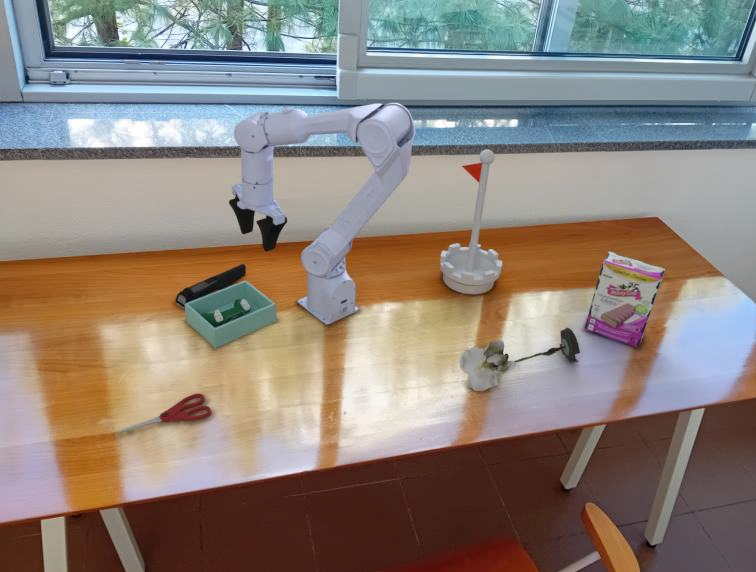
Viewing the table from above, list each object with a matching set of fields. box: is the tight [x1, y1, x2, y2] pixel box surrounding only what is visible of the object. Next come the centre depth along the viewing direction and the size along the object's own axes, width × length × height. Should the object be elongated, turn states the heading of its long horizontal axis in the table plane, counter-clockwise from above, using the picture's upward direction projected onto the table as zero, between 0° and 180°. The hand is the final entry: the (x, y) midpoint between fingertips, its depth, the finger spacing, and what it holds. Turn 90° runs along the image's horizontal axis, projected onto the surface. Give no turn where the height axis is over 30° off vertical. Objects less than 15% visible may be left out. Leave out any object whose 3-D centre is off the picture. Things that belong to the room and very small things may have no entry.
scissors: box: [115, 393, 212, 434], centre depth 114 cm, size 5×14×1 cm, turn 123°
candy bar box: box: [584, 251, 666, 349], centre depth 141 cm, size 11×5×16 cm, turn 65°
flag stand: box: [439, 148, 503, 295], centre depth 149 cm, size 13×13×30 cm
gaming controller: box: [200, 299, 251, 327], centre depth 135 cm, size 9×4×6 cm
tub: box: [184, 279, 277, 349], centre depth 136 cm, size 10×13×4 cm
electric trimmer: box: [175, 263, 247, 309], centre depth 144 cm, size 4×16×3 cm, turn 142°
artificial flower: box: [459, 327, 581, 392], centre depth 131 cm, size 9×22×10 cm, turn 109°
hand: (258, 240), depth 142 cm, fingers open, 7 cm apart
